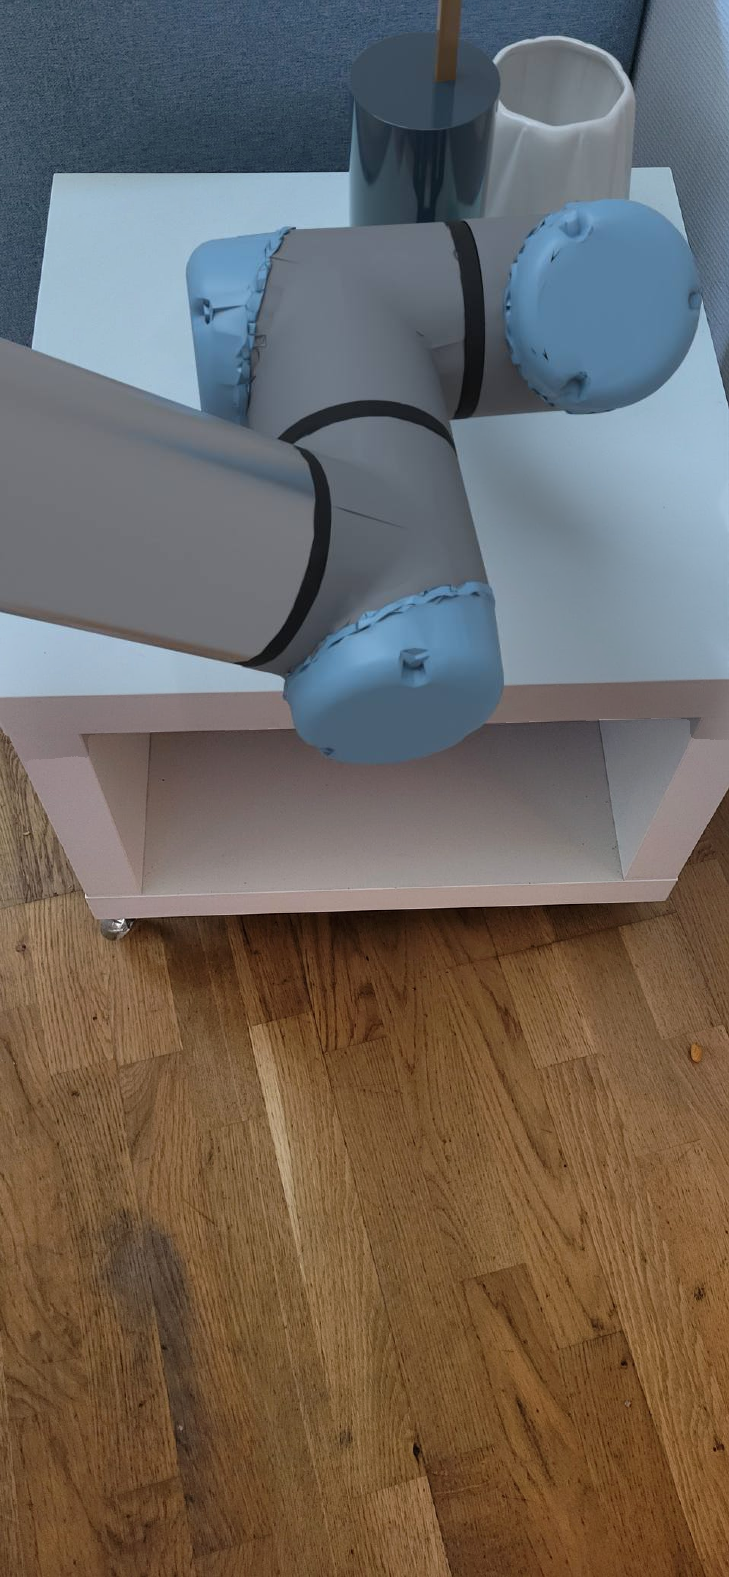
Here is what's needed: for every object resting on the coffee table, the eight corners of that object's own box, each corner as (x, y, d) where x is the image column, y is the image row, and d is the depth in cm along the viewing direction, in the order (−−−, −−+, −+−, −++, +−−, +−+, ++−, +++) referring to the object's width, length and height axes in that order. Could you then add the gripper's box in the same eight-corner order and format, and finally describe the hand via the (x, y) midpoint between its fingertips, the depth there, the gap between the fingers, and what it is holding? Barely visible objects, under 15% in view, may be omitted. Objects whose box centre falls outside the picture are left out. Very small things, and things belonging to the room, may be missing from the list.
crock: (361, 414, 85) (365, -98, 55) (340, 327, 89) (333, -199, 58) (478, 398, 86) (549, -116, 55) (453, 312, 90) (505, -215, 59)
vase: (641, 242, 93) (691, 55, 80) (570, 354, 88) (611, 176, 74) (486, 184, 96) (509, -6, 82) (408, 290, 91) (418, 106, 77)
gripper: (635, 221, 55) (511, 266, 77) (371, 261, 54) (320, 295, 76) (644, 384, 58) (521, 383, 80) (392, 424, 57) (338, 412, 79)
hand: (423, 340), depth 78 cm, fingers closed
